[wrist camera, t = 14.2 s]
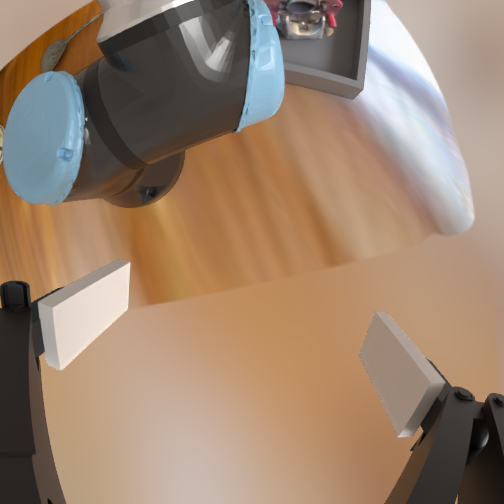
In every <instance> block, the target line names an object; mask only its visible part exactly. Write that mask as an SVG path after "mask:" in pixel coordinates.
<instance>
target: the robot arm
mask: <svg viewBox="0 0 504 504" xmlns="http://www.w3.org/2000/svg"><path fill="white" fill-rule="evenodd" d="M97 2H98V3H99V5H100V7H101V9H102V11H103V13H104V20H103V22H102V25H101V27H100V30H99V33H98V35H97V38H96V41H97V44H98V46H99V47H100V49H101V51H102V53H103V54H104V57H102V58H100V59H99V60H97V61H96V62H94V63H92V64H91V65H89V66H87V67H86V68H84V69H83V70H81V71H80V72H78V73H77V74H75V75H73V76H72V75H71V74H69V73H67V72H65V71H58V72H54V71H48V72H45V73H42V74H40V75H38V76H37V77H35V78H34V79H32V80H31V81H30V82H29V83H28V84H27V85H26V86H25V88H24V89H23V90H22V91H21V92H20V94H19V95H18V97H17V99H16V100H15V102H14V104H13V106H12V108H11V111H10V113H9V116H8V119H7V123H6V127H5V130H4V136H3V145H2V156H3V166H4V171H5V174H6V178H7V180H8V183H9V185H10V186H11V188H12V190H13V191H14V192H15V193H16V195H18V196H20V197H21V198H22V200H23V201H25V202H28V203H31V204H46V205H55V204H59V203H61V202H69V201H78V200H87V199H96V198H103V199H104V200H106V201H108V202H109V203H111V204H113V205H116V206H119V207H125V208H135V207H142V206H146V205H149V204H152V203H154V202H156V201H158V200H159V199H161V198H162V197H163V196H165V195H166V194H167V193H168V192H169V191H170V190H171V188H172V187H173V186H174V185H175V183H176V181H177V180H178V178H179V176H180V173H181V171H182V168H183V164H184V159H185V150H187V149H189V148H191V147H194V146H196V145H199V144H201V143H204V142H207V141H209V140H212V139H214V138H217V137H220V136H222V135H225V134H228V133H231V132H232V133H233V134H234V133H237V132H239V131H241V130H242V128H244V127H247V126H249V125H252V124H254V123H257V122H260V121H263V120H265V119H268V118H270V117H271V116H273V115H274V114H275V113H276V112H277V110H278V109H279V107H280V105H281V103H282V101H283V96H284V87H285V76H284V64H283V56H282V50H281V45H280V40H279V36H278V33H277V30H276V28H275V27H274V26H273V21H272V16H271V13H270V11H269V8H268V7H267V5H266V3H265V2H264V1H263V0H97ZM130 263H131V262H128V261H124V260H120V259H118V260H116V261H114V262H112V263H110V264H108V265H106V266H104V267H102V268H100V269H98V270H96V271H94V272H92V273H90V274H88V275H86V276H84V277H83V278H81V279H79V280H77V281H75V282H73V283H71V284H69V285H67V286H66V287H61V288H57V289H56V290H54V291H52V292H51V293H48V294H46V295H45V296H43V297H41V298H39V299H37V300H35V301H33V302H32V303H31V298H30V287H29V285H28V284H27V283H26V282H23V281H9V282H5V283H3V284H2V285H1V286H0V297H1V304H2V308H0V504H66V502H65V498H64V495H63V492H62V489H61V485H60V482H59V478H58V475H57V471H56V467H55V463H54V459H53V455H52V450H51V445H50V440H49V435H48V429H47V423H46V417H45V409H44V402H43V392H42V382H41V368H40V360H39V356H40V355H41V354H43V353H44V352H45V357H46V363H47V365H49V366H51V367H54V368H55V369H57V370H59V371H62V370H63V369H64V368H65V367H66V366H67V365H68V364H69V363H70V362H71V361H72V360H73V359H74V358H75V357H76V356H77V355H78V354H80V353H81V352H82V351H83V350H84V349H85V348H86V347H87V346H88V345H89V344H90V343H91V342H92V341H93V340H95V339H96V338H97V337H98V336H99V335H100V334H101V333H102V332H103V331H104V330H105V329H106V328H108V327H109V326H110V325H111V324H112V323H113V322H114V321H115V320H116V319H118V318H119V316H121V315H122V314H123V313H124V312H125V311H126V310H128V294H129V277H130ZM359 357H360V359H361V361H362V363H363V365H364V367H365V369H366V371H367V373H368V375H369V377H370V379H371V381H372V383H373V385H374V387H375V389H376V391H377V394H378V396H379V398H380V400H381V402H382V404H383V406H384V408H385V410H386V413H387V415H388V417H389V419H390V421H391V424H392V426H393V428H394V430H395V432H396V435H397V437H410V436H413V435H414V434H415V432H416V431H417V429H418V428H419V426H420V425H421V427H422V429H423V431H424V432H423V433H422V435H421V436H420V438H419V439H418V441H417V442H416V443H415V444H414V446H413V447H412V448H411V450H410V451H413V452H412V454H411V456H410V458H409V460H408V462H407V464H406V466H405V468H404V470H403V472H402V474H401V476H400V478H399V479H398V481H397V483H396V485H395V487H394V488H393V490H392V492H391V493H390V495H389V497H388V498H387V500H386V502H385V503H384V504H455V501H456V498H457V494H458V504H504V396H503V395H501V394H496V393H491V394H489V396H488V397H487V399H486V400H485V402H484V403H483V402H476V401H475V397H474V396H473V394H472V393H471V392H469V391H468V390H466V389H464V388H461V387H452V386H451V385H450V384H449V383H448V381H447V380H446V379H445V377H444V376H443V375H442V374H441V373H440V371H439V370H438V369H437V368H436V366H434V364H433V363H432V362H431V361H430V360H428V359H427V358H426V357H424V355H423V354H422V353H421V352H420V351H419V349H418V348H417V347H416V346H415V345H414V344H413V342H412V341H411V340H410V339H409V338H408V336H407V335H406V334H405V333H404V332H403V331H402V329H401V328H400V327H399V326H398V325H397V324H396V323H395V321H394V320H393V319H392V318H391V317H390V316H389V315H388V314H387V313H384V312H377V311H375V312H374V316H373V318H372V321H371V324H370V327H369V329H368V332H367V335H366V338H365V340H364V343H363V346H362V348H361V351H360V353H359ZM486 442H487V443H486ZM485 444H486V445H485Z"/></svg>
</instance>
